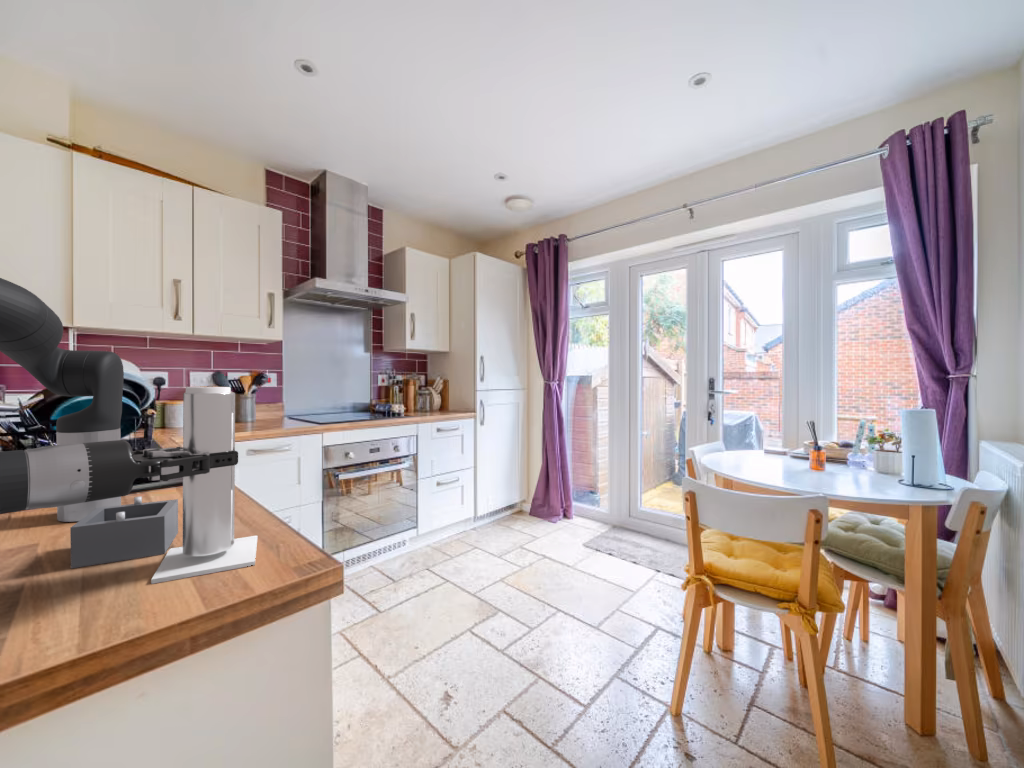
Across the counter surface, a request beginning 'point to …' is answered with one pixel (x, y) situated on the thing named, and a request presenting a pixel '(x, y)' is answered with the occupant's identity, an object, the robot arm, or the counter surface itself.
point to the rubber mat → (206, 561)
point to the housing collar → (124, 532)
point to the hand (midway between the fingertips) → (228, 455)
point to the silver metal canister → (214, 491)
